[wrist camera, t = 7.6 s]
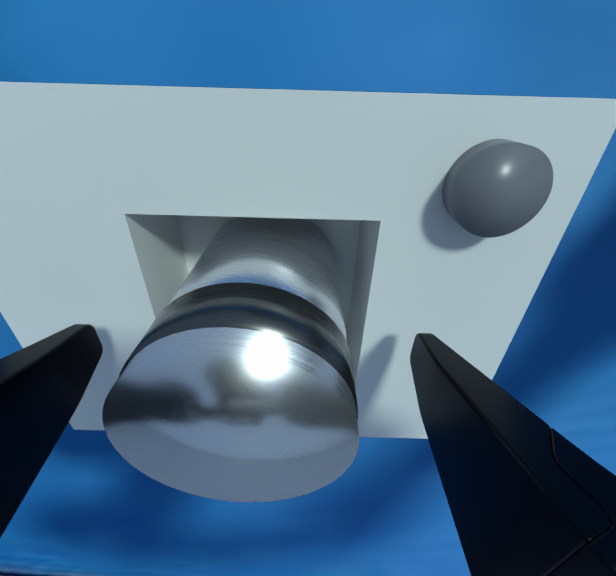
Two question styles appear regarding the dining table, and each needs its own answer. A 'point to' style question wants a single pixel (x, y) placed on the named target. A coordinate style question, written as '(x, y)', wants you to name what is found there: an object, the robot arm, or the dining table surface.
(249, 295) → the steel lens
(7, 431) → the robot arm
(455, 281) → the camera body
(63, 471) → the dining table surface
